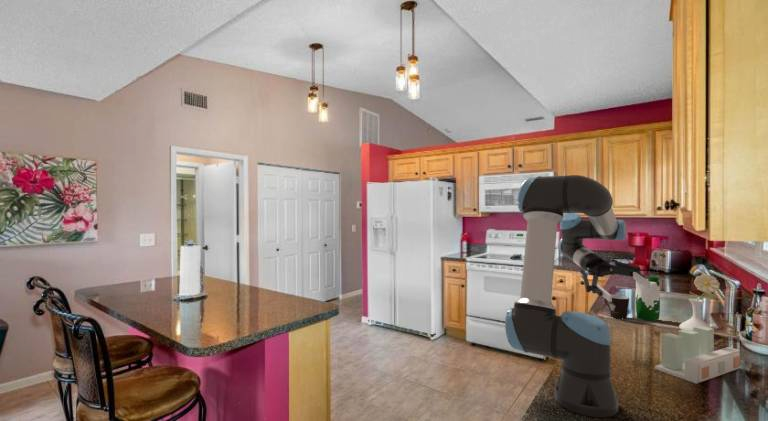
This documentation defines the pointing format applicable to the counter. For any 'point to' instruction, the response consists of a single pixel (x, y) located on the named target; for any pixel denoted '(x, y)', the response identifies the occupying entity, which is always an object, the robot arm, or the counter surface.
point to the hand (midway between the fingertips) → (629, 292)
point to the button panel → (696, 364)
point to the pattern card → (719, 366)
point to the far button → (705, 339)
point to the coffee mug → (618, 306)
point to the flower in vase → (708, 286)
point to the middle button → (689, 343)
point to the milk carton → (648, 300)
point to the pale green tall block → (672, 351)
